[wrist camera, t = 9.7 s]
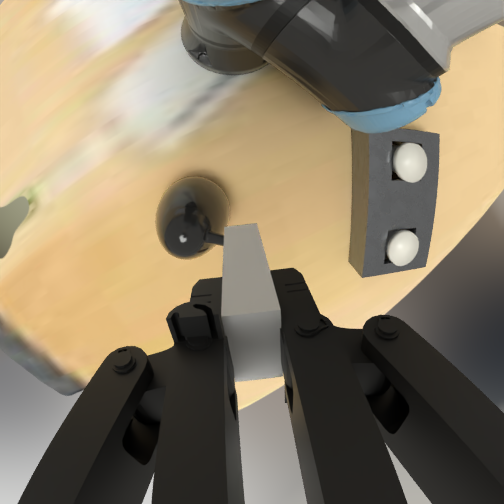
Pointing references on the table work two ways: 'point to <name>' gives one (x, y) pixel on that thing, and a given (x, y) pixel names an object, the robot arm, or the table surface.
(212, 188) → the pump dispenser
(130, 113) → the table surface
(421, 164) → the knob near
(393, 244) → the knob far
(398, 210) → the housing
